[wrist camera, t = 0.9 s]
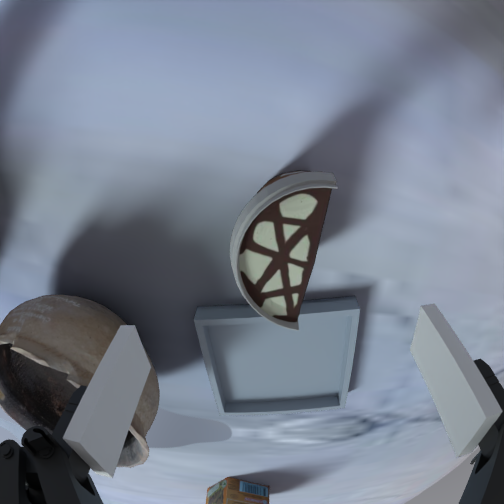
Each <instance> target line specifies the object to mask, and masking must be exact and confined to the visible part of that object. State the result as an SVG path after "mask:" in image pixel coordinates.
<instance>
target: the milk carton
mask: <svg viewBox="0 0 504 504" xmlns="http://www.w3.org/2000/svg"><path fill="white" fill-rule="evenodd" d="M206 504H269V486H265V485H261V484H256V483H251V482H247V481H243V480H239V479H235V478H231V477H227V478H225V479H223V480H222V481H220V482H218V483H216V484H215V485H213V486H211V487H209V488H208V489H207V497H206Z"/></svg>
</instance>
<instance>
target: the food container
mask: <svg viewBox="0 0 504 504" xmlns="http://www.w3.org/2000/svg"><path fill="white" fill-rule="evenodd" d="M336 182H337V181H336V179H335V176H334V174H333V173H329V172H309V171H293V172H288V173H283V174H281V175H279V176H277V177H275V178H273V179H271V180H269V181H268V182H267V183H266V184H265V185H264V186H263V187H262V188H261V189H260V190H259V191H258V192H257V194H256V195H255V196H254V197H253V198H252V199H251V200H250V201H249V203H248V204H247V205H246V206H245V207H244V209H243V210H242V212H241V214H240V215H239V217H238V219H237V221H236V224H235V226H234V228H233V232H232V237H231V241H230V259H231V266H232V270H233V273H234V277H235V280H236V283H237V286H238V288H239V290H240V292H241V294H242V295H243V297H244V298H245V299H246V301H247V302H248V303H249V304H250V305H251V307H252V308H253V309H254V310H255V311H256V312H257V313H258V314H259V315H261V316H262V317H264V318H265V319H267V320H268V321H270V322H272V323H274V324H276V325H278V326H281V327H284V328H287V329H291V330H297V331H299V324H298V317H299V315H300V309H301V305H302V302H303V298H304V295H305V291H306V288H307V285H308V282H309V279H310V275H311V272H312V269H313V266H314V263H315V258H316V254H317V249H318V245H319V241H320V237H321V232H322V228H323V224H324V220H325V216H326V212H327V207H328V203H329V199H330V194H331V190H332V188H334V189H338V187H337V186H336Z"/></svg>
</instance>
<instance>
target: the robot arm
mask: <svg viewBox="0 0 504 504" xmlns="http://www.w3.org/2000/svg"><path fill="white" fill-rule="evenodd" d="M410 351H411V353H412V355H413V357H414V360H415V362H416V364H417V366H418V368H419V370H420V372H421V374H422V376H423V379H424V381H425V383H426V385H427V387H428V390H429V392H430V394H431V396H432V399H433V401H434V403H435V405H436V408H437V410H438V412H439V415H440V417H441V420H442V422H443V424H444V427H445V429H446V432H447V434H448V437H449V439H450V442H451V445H452V447H453V450H454V452H455V455H456V458H458V457H461V456H464V455H466V454H469V453H471V452H473V450H474V449H475V448H476V447H477V445H479V447H480V449H481V450H480V452H479V453H478V454H477V455H476V456H475V457H474V459H473V460H472V461H471V463H470V464H473V463H474V462H475V461H476V462H475V465H474V468H473V470H472V473H471V475H470V478H469V480H468V483H467V485H466V488H465V490H464V493H463V495H462V497H461V499H460V502H459V504H504V389H503V387H502V386H501V384H500V383H499V381H498V379H497V377H496V376H495V374H494V373H493V371H492V369H491V368H490V366H489V365H488V364H486V363H485V362H484V361H483V360H481V359H478V360H474V361H473V360H472V358H471V357H470V355H469V353H468V352H467V350H466V349H465V347H464V346H463V344H462V343H461V341H460V340H459V338H458V337H457V335H456V334H455V332H454V331H453V329H452V328H451V326H450V325H449V323H448V322H447V320H446V319H445V318H444V316H443V315H442V313H441V312H440V310H439V309H438V308H437V306H436V305H435V304H429V305H423V306H421V308H420V312H419V317H418V321H417V325H416V329H415V333H414V337H413V341H412V344H411V348H410ZM150 369H151V365H150V363H149V360H148V358H147V356H146V353H145V350H144V348H143V345H142V343H141V340H140V337H139V335H138V332H137V329H136V327H135V325H121V326H120V328H119V329H118V331H117V333H116V335H115V337H114V338H113V340H112V342H111V344H110V346H109V347H108V349H107V351H106V353H105V355H104V357H103V358H102V360H101V362H100V364H99V366H98V368H97V370H96V372H95V373H94V375H93V377H92V379H91V381H90V383H89V385H88V386H83V385H81V386H80V387H79V388H78V389H77V390H76V391H75V392H73V394H72V396H71V398H70V400H69V401H68V404H67V405H66V407H65V409H64V410H65V411H63V413H62V415H61V417H60V419H59V421H58V423H57V425H56V427H55V429H54V431H53V433H52V435H51V434H50V433H49V432H48V431H47V429H45V428H44V427H42V426H33V427H31V428H29V429H28V430H27V431H26V432H25V433H24V434H23V437H22V445H23V446H24V447H20V446H19V445H18V443H17V442H15V441H14V440H5V441H3V442H2V443H1V444H0V504H103V502H102V500H101V498H100V496H99V494H98V492H97V490H96V487H95V485H94V483H93V481H92V478H91V477H90V475H89V474H88V473H89V470H90V468H91V469H92V470H93V471H94V472H95V473H96V474H98V475H102V476H106V477H110V478H113V476H114V473H115V470H116V467H117V463H118V460H119V457H120V454H121V451H122V448H123V445H124V442H125V439H126V436H127V433H128V430H129V427H130V425H131V422H132V419H133V416H134V413H135V410H136V407H137V405H138V402H139V399H140V396H141V394H142V391H143V388H144V385H145V383H146V380H147V377H148V374H149V372H150Z"/></svg>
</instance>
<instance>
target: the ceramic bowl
mask: <svg viewBox="0 0 504 504" xmlns="http://www.w3.org/2000/svg"><path fill="white" fill-rule="evenodd" d="M121 325H127V324H126V323H125V322H124V321H123V320H122V319H121V318H120V317H119V316H118V315H116V314H115V313H114V312H112V311H111V310H109V309H108V308H106V307H105V306H103V305H101V304H98V303H96V302H94V301H92V300H88V299H85V298H81V297H78V296H68V295H45V296H41V297H38V298H35V299H32V300H28V301H26V302H24V303H22V304H20V305H19V306H17V307H16V308H14V309H13V310H12V311H10V312H9V314H8V315H7V316H6V317H5V319H4V320H3V322H2V323H1V325H0V406H1V408H2V409H3V410H4V412H5V413H7V414H8V415H9V416H10V417H11V418H12V419H14V420H15V421H16V422H17V423H18V424H19V425H20V426H21V427H23V428H24V429H25V430H28V429H29V428H31V427H33V426H42V427H44V428H45V429H47V431H48V432H49V433H50V434H51V435H52V433H53V431H54V429H55V427H56V425H57V423H58V421H59V419H60V417H61V415H62V413H63V411H65V410H64V409H65V407H66V405H67V404H68V401H69V400H70V398H71V396H72V394H73V392H75V391H76V390H77V389H78V388H79V387H80V386H81V385H83V386H88V385H89V383H90V381H91V379H92V377H93V375H94V373H95V372H96V370H97V368H98V366H99V364H100V362H101V360H102V358H103V357H104V355H105V353H106V351H107V349H108V347H109V346H110V344H111V342H112V340H113V338H114V337H115V335H116V333H117V331H118V329H119V328H120V326H121ZM143 348H144V347H143ZM144 350H145V348H144ZM145 353H146V356H147V358H148V360H149V363H150V365H151V369H150V372H149V374H148V377H147V380H146V383H145V385H144V388H143V391H142V394H141V396H140V399H139V402H138V405H137V407H136V410H135V413H134V416H133V419H132V422H131V425H130V427H129V430H128V433H127V436H126V439H125V442H124V445H123V448H122V451H121V454H120V457H119V460H118V463H117V467H129V468H131V467H134V466H136V465H140V464H143V463H144V462H145V461H146V460H147V458H148V456H149V447H148V445H147V442H146V438H145V436H146V434H147V432H148V430H149V429H150V427H151V425H152V423H153V421H154V419H155V416H156V414H157V410H158V405H159V392H160V391H159V384H158V379H157V375H156V372H155V369H154V367H153V364H152V362H151V359H150V357H149V356H148V354H147V351H146V350H145Z"/></svg>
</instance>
